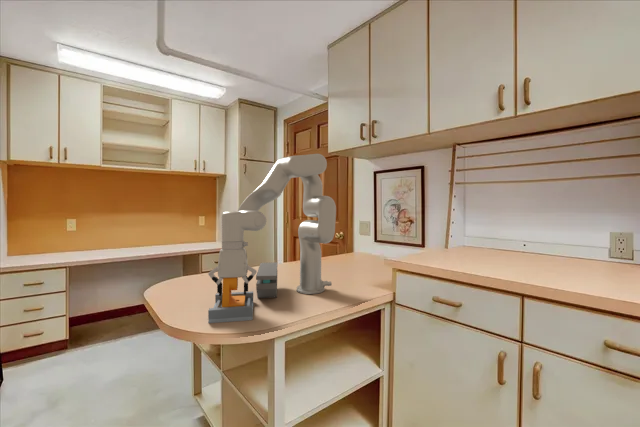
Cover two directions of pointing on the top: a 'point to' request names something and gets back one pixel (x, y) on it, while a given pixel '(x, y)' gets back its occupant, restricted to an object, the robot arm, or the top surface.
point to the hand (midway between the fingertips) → (233, 293)
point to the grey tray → (231, 309)
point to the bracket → (226, 295)
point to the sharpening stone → (267, 280)
